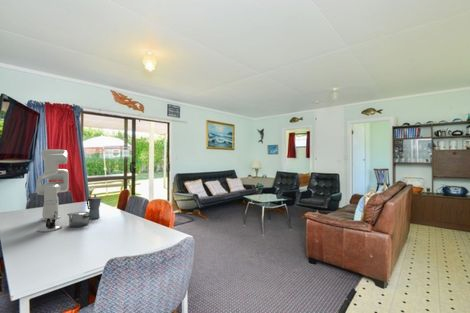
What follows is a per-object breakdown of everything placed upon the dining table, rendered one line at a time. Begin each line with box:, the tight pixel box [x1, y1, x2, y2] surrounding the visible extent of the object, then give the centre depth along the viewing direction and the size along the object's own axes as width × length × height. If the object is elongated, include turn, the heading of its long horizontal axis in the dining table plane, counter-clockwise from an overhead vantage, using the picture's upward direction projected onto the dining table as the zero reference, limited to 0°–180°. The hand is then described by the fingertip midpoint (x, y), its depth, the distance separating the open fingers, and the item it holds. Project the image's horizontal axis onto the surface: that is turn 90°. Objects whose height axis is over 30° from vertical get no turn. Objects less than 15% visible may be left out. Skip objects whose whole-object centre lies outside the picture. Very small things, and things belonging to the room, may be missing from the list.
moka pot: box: [86, 194, 102, 220], centre depth 200 cm, size 10×15×20 cm, turn 174°
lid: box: [37, 220, 63, 233], centre depth 169 cm, size 14×14×6 cm
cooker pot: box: [67, 211, 91, 229], centre depth 179 cm, size 21×13×9 cm, turn 72°
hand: (50, 226), depth 169 cm, fingers closed on lid, 3 cm apart
